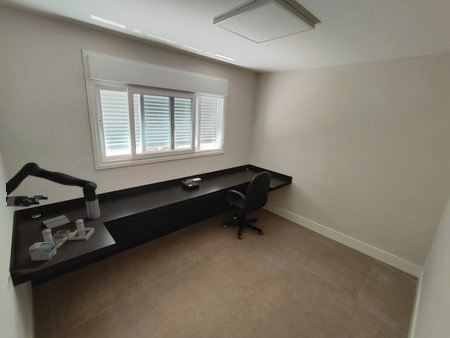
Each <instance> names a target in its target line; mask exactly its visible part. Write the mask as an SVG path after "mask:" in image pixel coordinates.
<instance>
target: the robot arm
mask: <svg viewBox="0 0 450 338" xmlns="http://www.w3.org/2000/svg"><path fill="white" fill-rule="evenodd" d="M29 176H30V177H35V178H40V179H43V180H47V181H50V182H52V183H56V184H59V185H62V186H67V187H68V186H69V187H79V188H82V193H83V194H82V195H83V198H84V200H85V205H86V211H87V217H88V219H89V220H95V219H99V218H100V216H101V210H100V205H99V198H98V195H97V193H96V190H97V189H98V185H97V183H96V182H94V181H93V180H92V181H91V180H86V179H82V178H79V177H76V176H73V175H70V174H67V173H64V172H60V171H52V170H47V169H45V168H42V167H40V166H39V164H37V163H36V162H33V161H31V162H30V161H29V162H27V163H25V164H24V165H23V166H22V167H21V168H20V169H19V170H18V172H17V173H16V174H15V175H14V176H12V177H11V178H10V179H9V180H8V181H6V192H7V197H6V202H7V206H6V207H13V208H14V207H15V208H16V207H22V208H28V207H31V206H39V205H40V201H45V200H46V201H48V200H49V197H48V196H44V195H43V194H42V195H33V196H31V197H29V196H27V195H12V196H9V195H11V194H12V193H13V192H14V191H15V190H16V189H18V187H19V186H20V185H21V183H23V181H24V180H25V179H26V178H28V177H29Z"/></svg>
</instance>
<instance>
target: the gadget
mask: <svg viewBox="0 0 450 338" xmlns="http://www.w3.org/2000/svg"><path fill="white" fill-rule="evenodd" d="M42 222H43V223H42V224H43V225H44V226H45V227H46V229H51V230H52V229H53V228H56V227H59V226H63V225H66V224H68V223H71V221H70V219H69V218H68V217H67V216H66V215H60V216H56V217H54V218H48V219H46V220H42Z"/></svg>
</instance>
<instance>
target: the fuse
mask: <svg viewBox="0 0 450 338" xmlns="http://www.w3.org/2000/svg"><path fill="white" fill-rule="evenodd" d="M41 234H42V237H43V242H50V241H53V239H52V237H53V235H52V228H51V229H48V228H45V229H43V230H42V231H41Z"/></svg>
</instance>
